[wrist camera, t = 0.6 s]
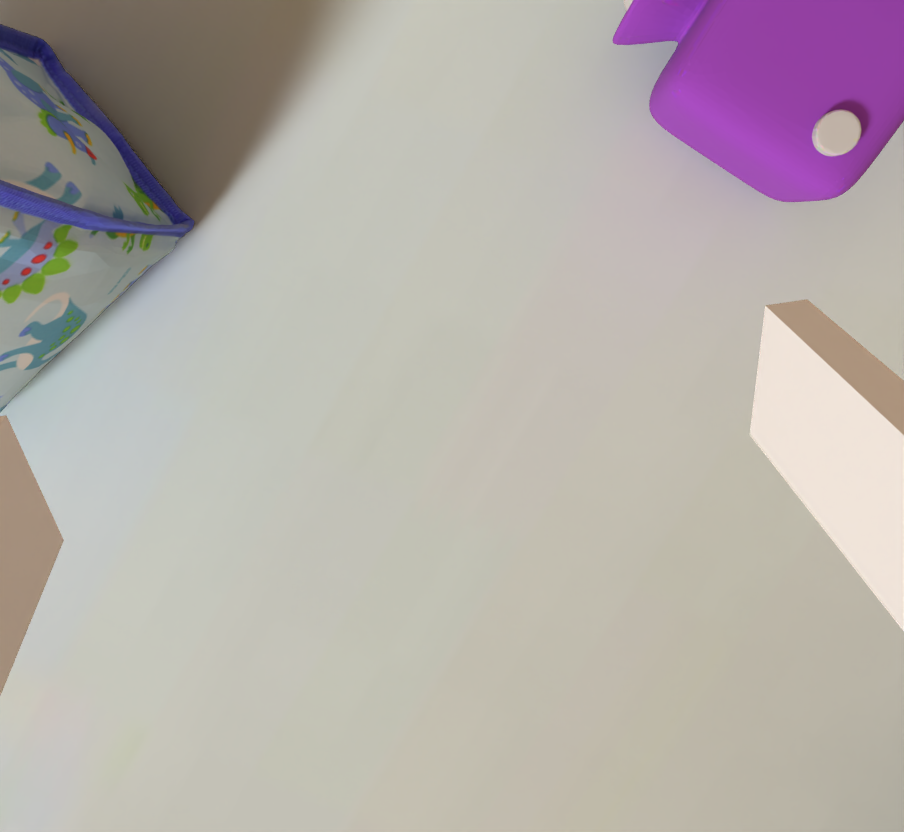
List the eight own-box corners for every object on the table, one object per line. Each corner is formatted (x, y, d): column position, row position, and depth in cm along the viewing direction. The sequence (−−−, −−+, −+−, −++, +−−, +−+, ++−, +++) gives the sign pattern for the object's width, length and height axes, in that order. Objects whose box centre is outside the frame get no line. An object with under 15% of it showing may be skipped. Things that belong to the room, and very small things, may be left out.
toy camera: (656, -94, 41) (689, -190, 31) (917, 7, 41) (1031, -58, 31) (569, 123, 44) (575, 97, 34) (813, 219, 43) (889, 220, 34)
